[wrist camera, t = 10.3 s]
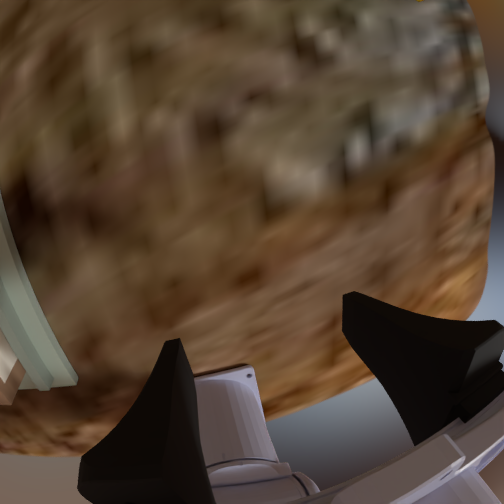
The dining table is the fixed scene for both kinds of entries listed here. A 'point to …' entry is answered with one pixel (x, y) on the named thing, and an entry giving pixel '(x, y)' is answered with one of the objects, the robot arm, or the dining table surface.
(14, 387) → the brown box
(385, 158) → the dining table surface
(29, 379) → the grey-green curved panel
